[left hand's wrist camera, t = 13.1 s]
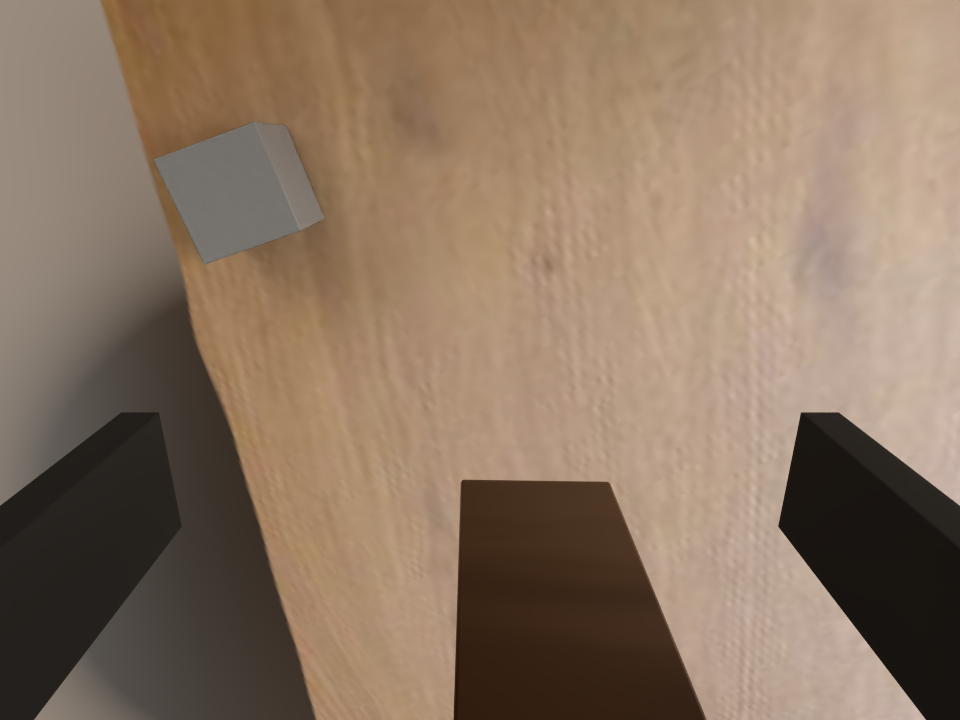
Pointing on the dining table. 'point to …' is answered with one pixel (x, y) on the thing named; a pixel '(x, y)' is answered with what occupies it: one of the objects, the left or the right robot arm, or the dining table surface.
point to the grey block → (240, 189)
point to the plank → (559, 610)
